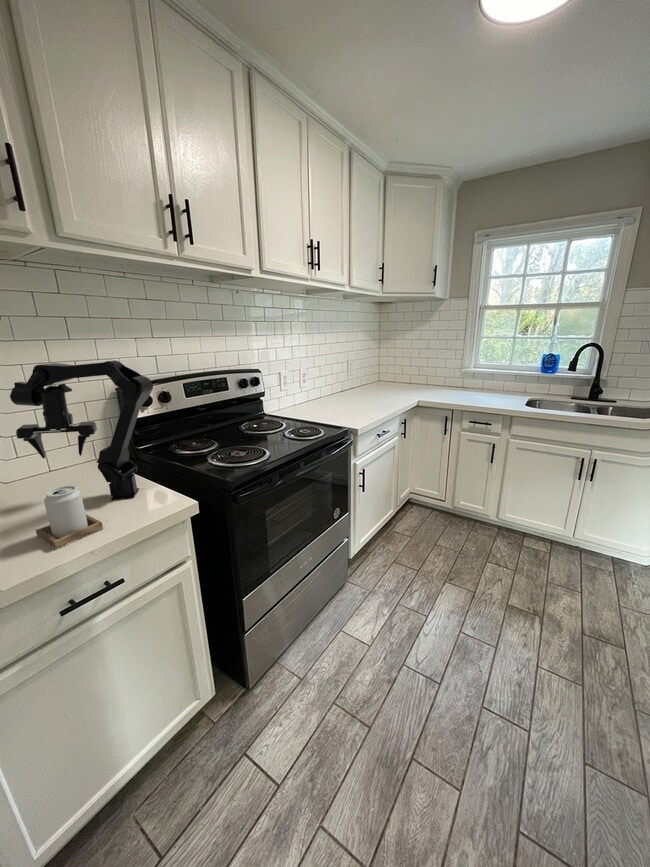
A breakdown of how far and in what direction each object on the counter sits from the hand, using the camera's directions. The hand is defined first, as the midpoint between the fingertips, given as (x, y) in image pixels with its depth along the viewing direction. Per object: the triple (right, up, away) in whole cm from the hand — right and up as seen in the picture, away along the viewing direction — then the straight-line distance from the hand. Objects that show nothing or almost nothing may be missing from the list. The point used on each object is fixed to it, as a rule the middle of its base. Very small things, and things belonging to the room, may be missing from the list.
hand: (62, 456), depth 108 cm
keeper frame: (+15, -18, -18) cm, 30 cm away
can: (+15, -19, -18) cm, 30 cm away
